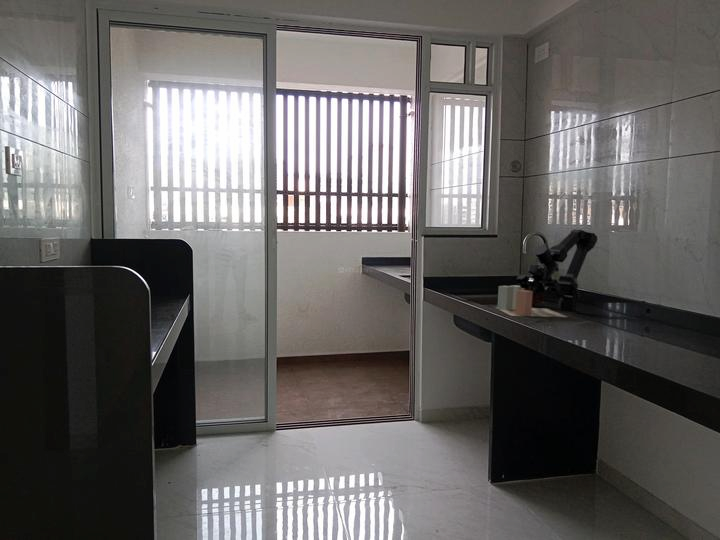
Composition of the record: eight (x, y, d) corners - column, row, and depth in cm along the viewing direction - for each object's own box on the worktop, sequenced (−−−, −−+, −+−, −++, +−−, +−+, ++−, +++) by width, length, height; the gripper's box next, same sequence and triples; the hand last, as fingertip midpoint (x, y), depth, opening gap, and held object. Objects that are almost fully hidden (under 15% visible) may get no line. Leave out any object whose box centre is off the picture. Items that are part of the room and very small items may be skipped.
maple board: (546, 310, 254) (546, 308, 254) (568, 319, 231) (568, 317, 231) (494, 309, 252) (494, 306, 252) (510, 317, 229) (511, 315, 229)
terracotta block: (521, 313, 235) (523, 290, 234) (531, 315, 232) (532, 291, 231) (515, 314, 233) (516, 290, 232) (524, 316, 229) (526, 291, 228)
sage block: (503, 307, 250) (505, 285, 249) (512, 309, 247) (513, 286, 246) (497, 308, 247) (498, 286, 246) (505, 310, 244) (507, 287, 243)
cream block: (514, 307, 253) (516, 285, 253) (523, 308, 250) (524, 286, 249) (508, 307, 251) (509, 285, 250) (517, 309, 247) (518, 286, 246)
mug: (540, 306, 265) (541, 285, 264) (545, 309, 257) (547, 287, 256) (518, 306, 265) (519, 285, 264) (522, 308, 257) (524, 287, 256)
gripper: (520, 256, 243) (502, 282, 237) (558, 259, 228) (541, 287, 222) (529, 274, 248) (513, 300, 242) (568, 278, 234) (551, 306, 228)
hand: (528, 298), depth 234 cm, fingers closed
